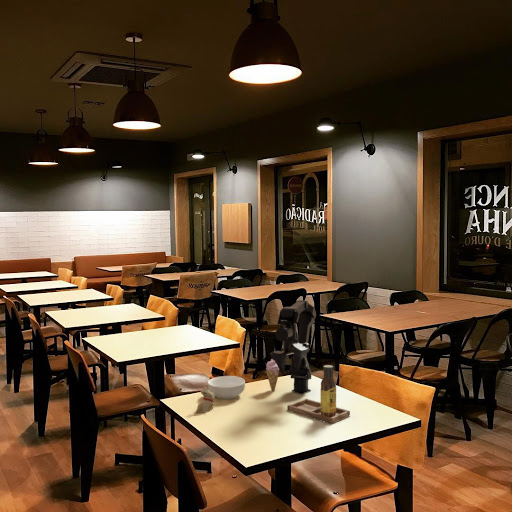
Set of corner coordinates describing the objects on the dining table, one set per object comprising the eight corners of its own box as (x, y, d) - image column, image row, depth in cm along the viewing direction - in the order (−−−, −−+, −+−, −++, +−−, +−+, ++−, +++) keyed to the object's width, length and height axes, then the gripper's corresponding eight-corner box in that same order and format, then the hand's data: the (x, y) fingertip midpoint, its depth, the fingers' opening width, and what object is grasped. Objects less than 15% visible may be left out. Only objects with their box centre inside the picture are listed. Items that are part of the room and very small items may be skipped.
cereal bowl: (201, 395, 257) (200, 380, 256) (230, 388, 267) (230, 373, 266) (222, 405, 243) (221, 389, 243) (252, 397, 253) (252, 381, 253)
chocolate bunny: (215, 411, 235) (214, 388, 235) (196, 412, 234) (195, 389, 233) (214, 407, 241) (213, 384, 240) (195, 408, 239) (195, 385, 239)
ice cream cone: (283, 390, 262) (282, 358, 261) (274, 393, 257) (273, 361, 256) (272, 387, 266) (271, 356, 265) (263, 390, 262) (263, 359, 261)
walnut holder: (306, 403, 244) (306, 398, 243) (349, 415, 227) (349, 411, 227) (287, 410, 235) (287, 405, 235) (331, 423, 219) (331, 418, 219)
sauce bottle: (332, 418, 223) (332, 369, 221) (317, 416, 226) (317, 367, 225) (338, 413, 228) (338, 365, 227) (324, 411, 232) (324, 363, 230)
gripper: (288, 343, 232) (289, 380, 233) (317, 335, 245) (318, 371, 246) (269, 339, 240) (270, 375, 241) (298, 332, 253) (298, 366, 254)
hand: (290, 372), depth 245 cm, fingers open, 9 cm apart
